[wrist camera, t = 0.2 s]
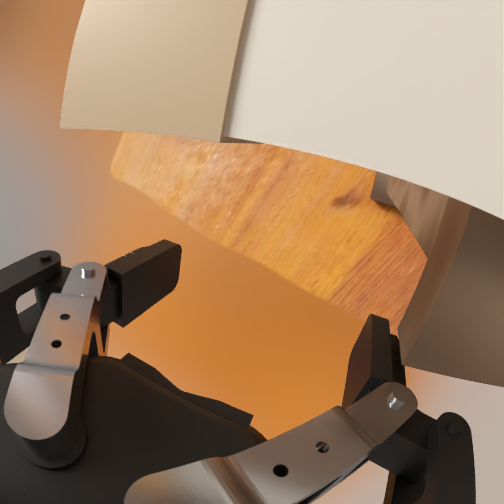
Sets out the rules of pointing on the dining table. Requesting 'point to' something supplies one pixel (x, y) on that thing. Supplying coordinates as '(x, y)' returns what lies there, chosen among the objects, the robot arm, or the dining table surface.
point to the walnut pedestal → (451, 284)
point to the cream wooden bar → (306, 81)
